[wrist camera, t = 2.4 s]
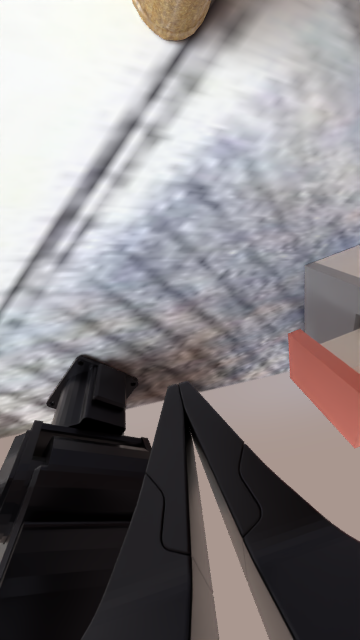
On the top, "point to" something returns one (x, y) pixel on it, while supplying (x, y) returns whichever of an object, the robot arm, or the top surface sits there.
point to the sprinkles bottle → (172, 16)
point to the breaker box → (332, 295)
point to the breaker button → (330, 378)
